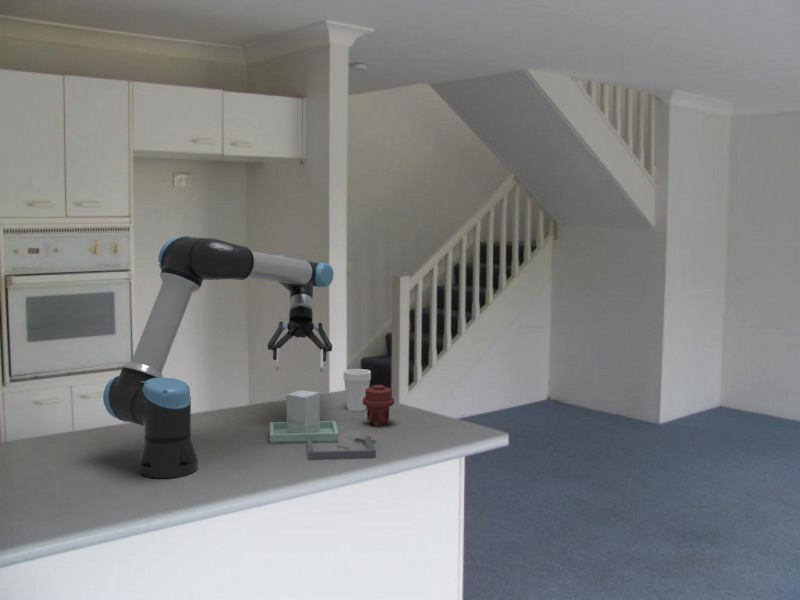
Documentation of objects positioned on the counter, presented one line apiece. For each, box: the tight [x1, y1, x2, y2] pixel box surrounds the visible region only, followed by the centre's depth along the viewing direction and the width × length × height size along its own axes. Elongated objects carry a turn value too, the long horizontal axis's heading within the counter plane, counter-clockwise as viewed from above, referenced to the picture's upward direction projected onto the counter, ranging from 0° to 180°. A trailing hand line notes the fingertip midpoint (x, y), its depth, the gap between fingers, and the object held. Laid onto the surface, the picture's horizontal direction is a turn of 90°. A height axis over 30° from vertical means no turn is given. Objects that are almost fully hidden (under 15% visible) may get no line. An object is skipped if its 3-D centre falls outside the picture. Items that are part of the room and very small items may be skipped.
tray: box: [269, 420, 339, 445], centre depth 249 cm, size 20×14×3 cm
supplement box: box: [286, 389, 321, 434], centre depth 249 cm, size 7×7×13 cm
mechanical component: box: [363, 384, 395, 427], centre depth 264 cm, size 12×10×10 cm
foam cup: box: [343, 368, 372, 412], centre depth 283 cm, size 10×9×13 cm
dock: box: [306, 435, 377, 460], centre depth 235 cm, size 18×15×2 cm
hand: (299, 369), depth 257 cm, fingers open, 13 cm apart
